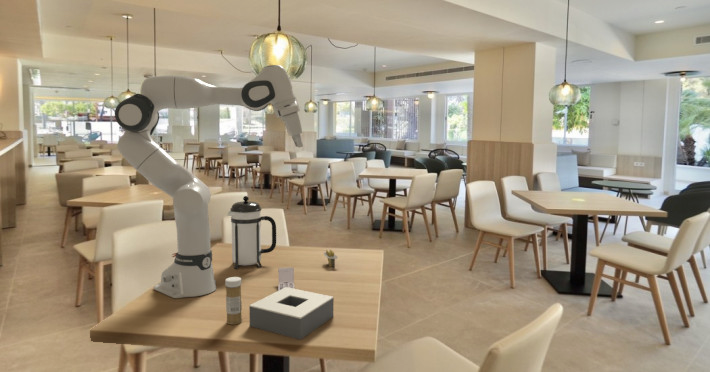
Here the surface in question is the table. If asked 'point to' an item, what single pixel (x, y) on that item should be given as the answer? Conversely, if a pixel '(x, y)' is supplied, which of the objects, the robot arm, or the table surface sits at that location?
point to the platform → (331, 257)
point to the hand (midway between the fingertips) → (299, 146)
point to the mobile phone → (286, 278)
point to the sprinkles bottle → (233, 300)
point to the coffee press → (248, 233)
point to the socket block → (291, 312)
